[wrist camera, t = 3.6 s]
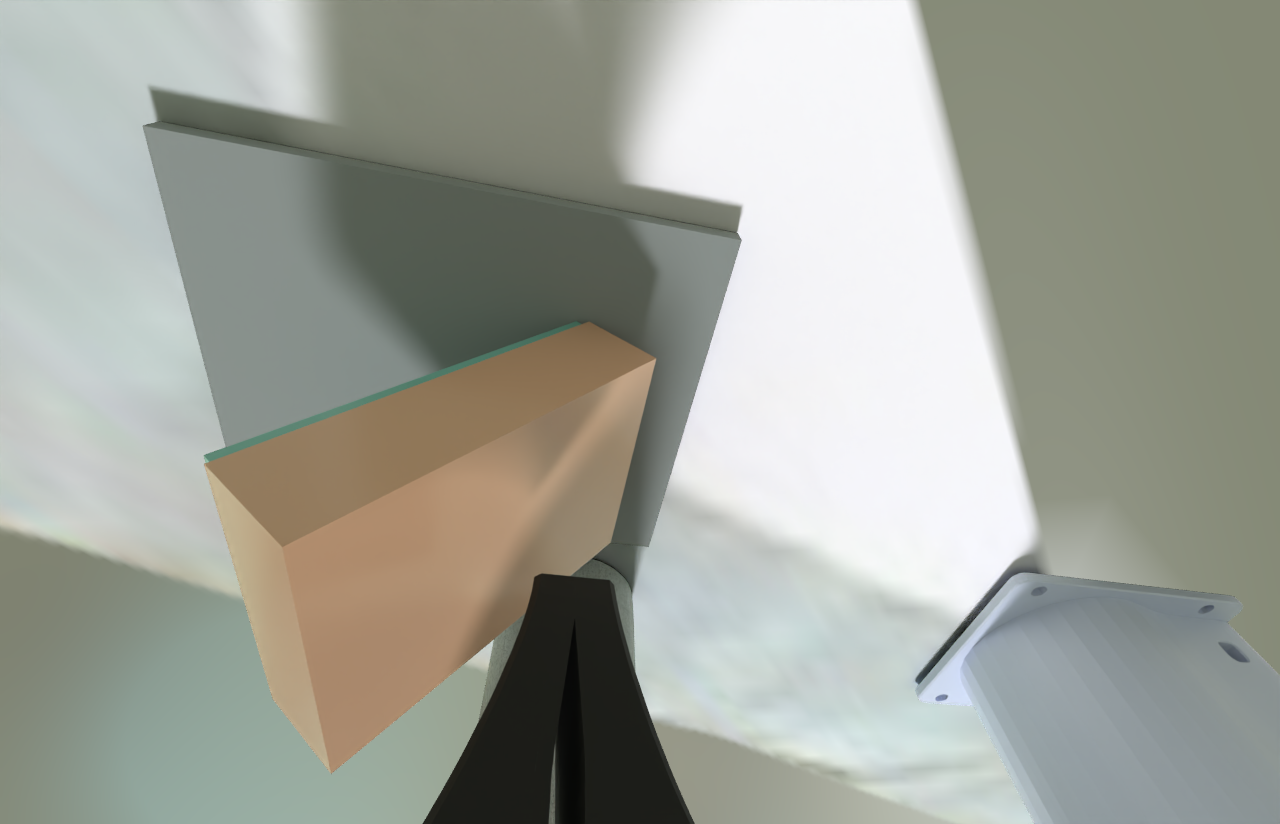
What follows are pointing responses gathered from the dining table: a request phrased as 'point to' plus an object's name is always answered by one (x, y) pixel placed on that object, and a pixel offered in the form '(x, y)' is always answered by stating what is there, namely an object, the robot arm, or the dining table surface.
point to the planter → (508, 637)
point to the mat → (420, 285)
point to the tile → (423, 521)
